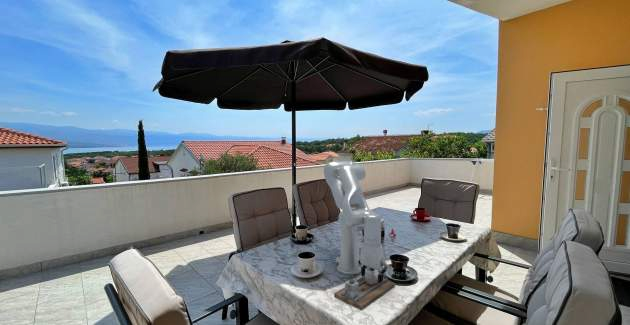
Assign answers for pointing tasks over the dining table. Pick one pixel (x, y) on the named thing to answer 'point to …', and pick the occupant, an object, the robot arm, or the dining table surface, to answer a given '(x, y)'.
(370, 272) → the grey sliding block
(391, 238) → the dining table surface
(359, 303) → the bolt plate
